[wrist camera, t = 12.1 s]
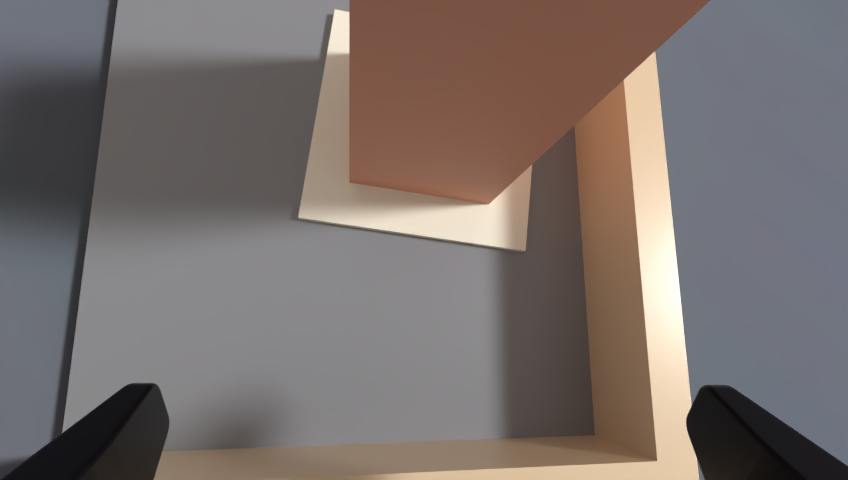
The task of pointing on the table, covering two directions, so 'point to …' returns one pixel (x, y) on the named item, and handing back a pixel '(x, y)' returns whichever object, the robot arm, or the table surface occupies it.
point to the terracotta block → (485, 83)
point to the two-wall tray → (368, 274)
